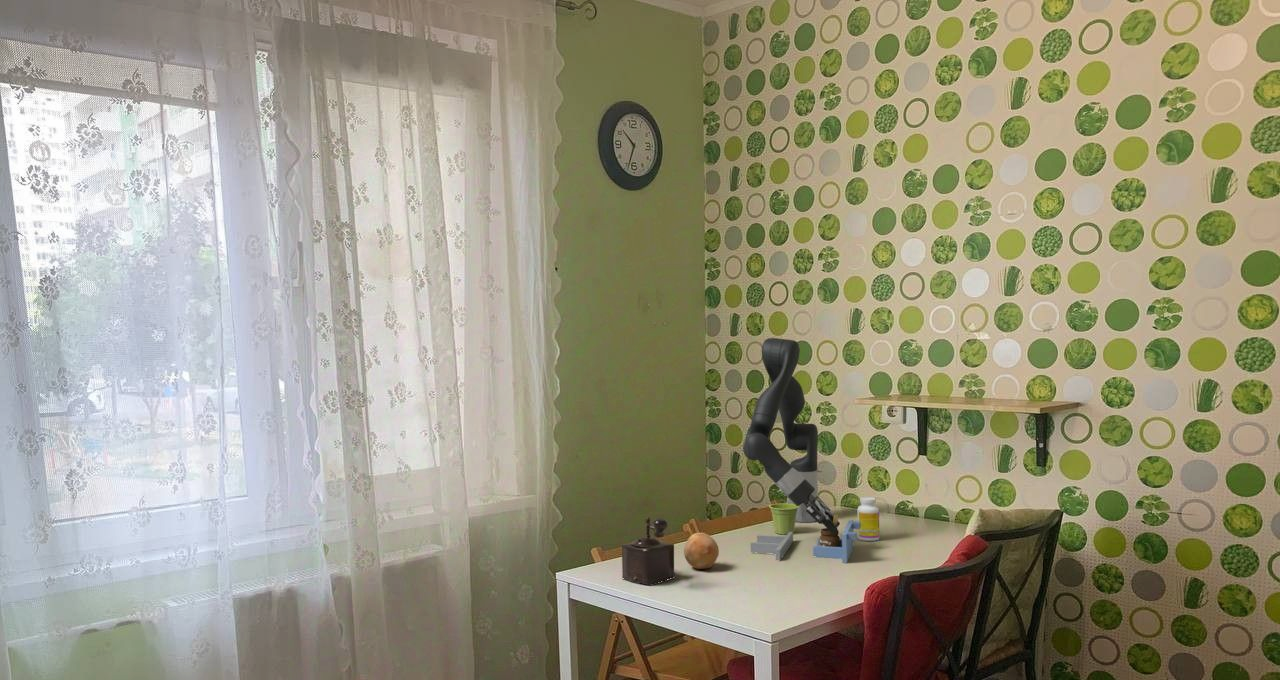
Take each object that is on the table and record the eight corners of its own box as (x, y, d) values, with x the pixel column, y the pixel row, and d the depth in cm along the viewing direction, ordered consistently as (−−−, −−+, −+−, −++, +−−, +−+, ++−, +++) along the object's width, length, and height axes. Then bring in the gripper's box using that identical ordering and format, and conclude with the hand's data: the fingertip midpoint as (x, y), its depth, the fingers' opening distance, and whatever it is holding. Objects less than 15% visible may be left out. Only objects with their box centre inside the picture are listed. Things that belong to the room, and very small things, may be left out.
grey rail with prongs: (746, 558, 266) (745, 548, 266) (762, 539, 289) (761, 530, 289) (779, 560, 263) (779, 550, 263) (793, 541, 286) (793, 531, 286)
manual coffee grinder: (619, 579, 247) (617, 513, 246) (647, 571, 254) (646, 506, 254) (661, 590, 236) (659, 521, 235) (689, 581, 244) (688, 514, 243)
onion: (726, 568, 256) (726, 532, 256) (701, 575, 249) (700, 538, 249) (702, 562, 263) (701, 527, 263) (676, 568, 257) (676, 533, 256)
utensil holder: (831, 550, 274) (830, 510, 274) (845, 554, 269) (844, 513, 269) (815, 552, 272) (814, 512, 272) (829, 557, 266) (828, 515, 266)
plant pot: (774, 528, 304) (774, 502, 304) (802, 530, 300) (802, 504, 300) (765, 534, 296) (765, 507, 296) (794, 537, 292) (793, 509, 291)
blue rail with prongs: (811, 560, 262) (810, 532, 262) (820, 544, 281) (819, 518, 281) (855, 563, 258) (854, 535, 258) (861, 546, 277) (861, 520, 277)
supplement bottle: (881, 541, 283) (881, 500, 283) (860, 541, 283) (859, 500, 283) (876, 536, 290) (876, 496, 290) (855, 536, 290) (855, 496, 290)
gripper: (800, 482, 265) (843, 525, 262) (807, 474, 279) (848, 515, 275) (782, 499, 267) (824, 542, 263) (790, 490, 281) (830, 531, 277)
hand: (836, 528), depth 269 cm, fingers open, 5 cm apart
